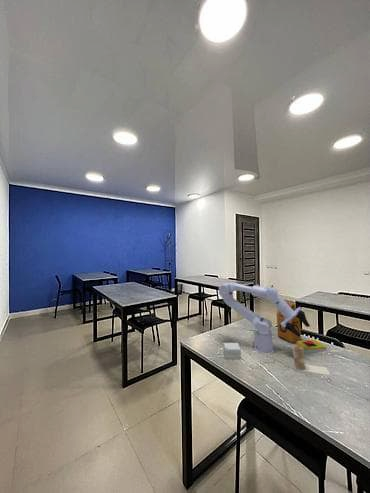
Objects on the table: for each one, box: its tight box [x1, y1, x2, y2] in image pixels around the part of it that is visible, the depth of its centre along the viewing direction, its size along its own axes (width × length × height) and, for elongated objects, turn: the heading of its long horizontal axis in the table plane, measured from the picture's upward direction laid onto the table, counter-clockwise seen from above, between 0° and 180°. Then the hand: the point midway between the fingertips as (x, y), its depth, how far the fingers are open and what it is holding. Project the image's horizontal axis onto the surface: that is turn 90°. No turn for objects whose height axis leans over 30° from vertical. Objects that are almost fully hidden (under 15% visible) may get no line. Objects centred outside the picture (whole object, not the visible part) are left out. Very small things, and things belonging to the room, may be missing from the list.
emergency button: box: [296, 339, 331, 354], centre depth 115 cm, size 9×4×15 cm
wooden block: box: [292, 344, 306, 371], centre depth 97 cm, size 4×4×9 cm
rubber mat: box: [302, 363, 330, 376], centre depth 97 cm, size 20×14×1 cm
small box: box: [223, 342, 242, 360], centre depth 111 cm, size 8×8×5 cm
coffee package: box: [276, 301, 302, 344], centre depth 128 cm, size 10×12×22 cm
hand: (303, 331), depth 107 cm, fingers open, 7 cm apart
